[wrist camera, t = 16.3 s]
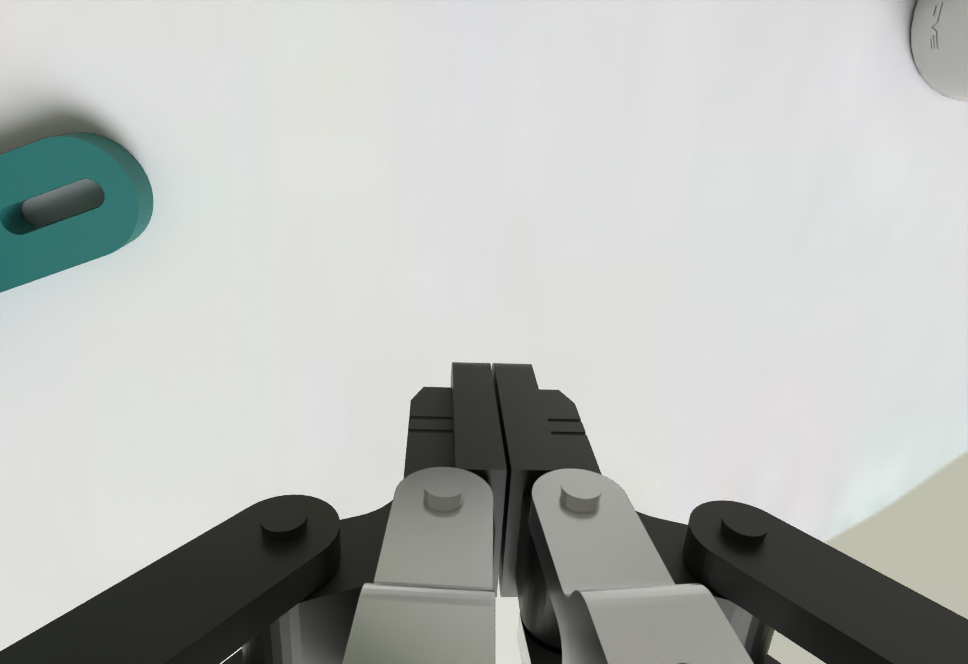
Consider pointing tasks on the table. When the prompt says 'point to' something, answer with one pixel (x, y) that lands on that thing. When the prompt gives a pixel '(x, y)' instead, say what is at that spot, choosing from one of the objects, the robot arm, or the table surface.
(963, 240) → the table surface
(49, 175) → the bracket
